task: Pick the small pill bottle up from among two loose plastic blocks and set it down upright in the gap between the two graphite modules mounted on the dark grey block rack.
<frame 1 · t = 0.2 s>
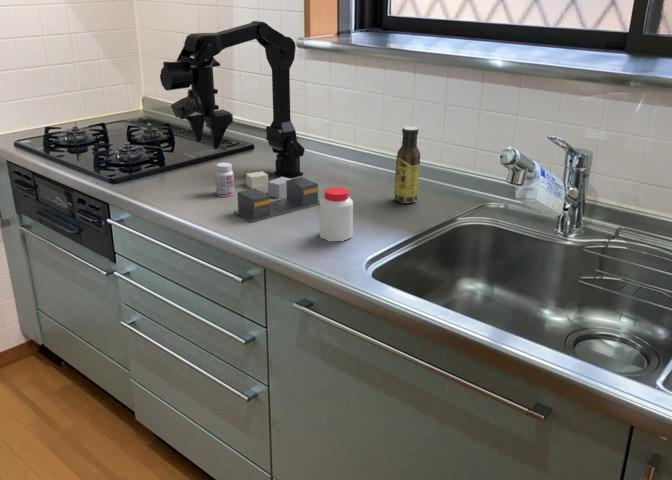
hand: (207, 145, 178), 14 cm above the worktop, fingers open, 9 cm apart
pill bottle 2: (336, 236, 157), on the worktop
dark grey block rack: (278, 208, 173), on the worktop
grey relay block: (280, 194, 184), on the worktop
sauce bottle: (405, 201, 180), on the worktop
beige terminal block: (257, 186, 190), on the worktop
pill bottle: (225, 195, 183), on the worktop
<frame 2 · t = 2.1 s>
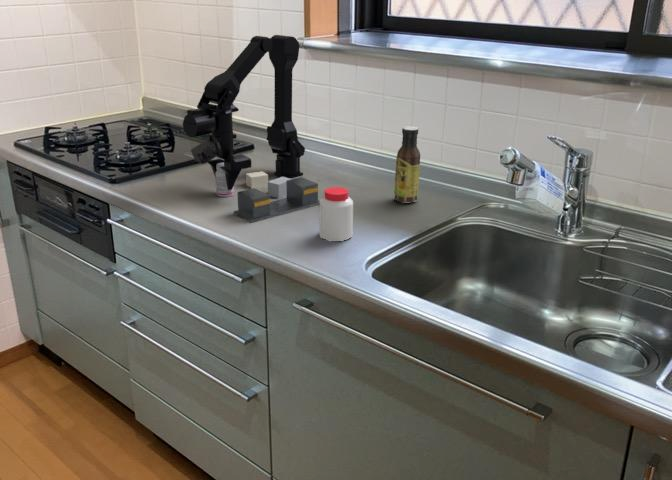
hand: (225, 187, 182), 2 cm above the worktop, fingers closed on pill bottle, 5 cm apart
pill bottle: (225, 195, 183), on the worktop, touching gripper
everything else where it was.
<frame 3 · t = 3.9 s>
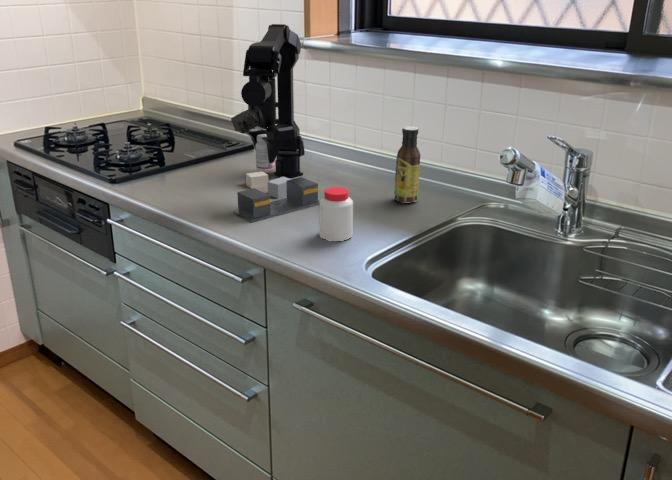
hand: (265, 160, 170), 12 cm above the worktop, fingers closed on pill bottle, 5 cm apart
pill bottle: (265, 169, 171), point 10 cm above the worktop, touching gripper
everything else where it was.
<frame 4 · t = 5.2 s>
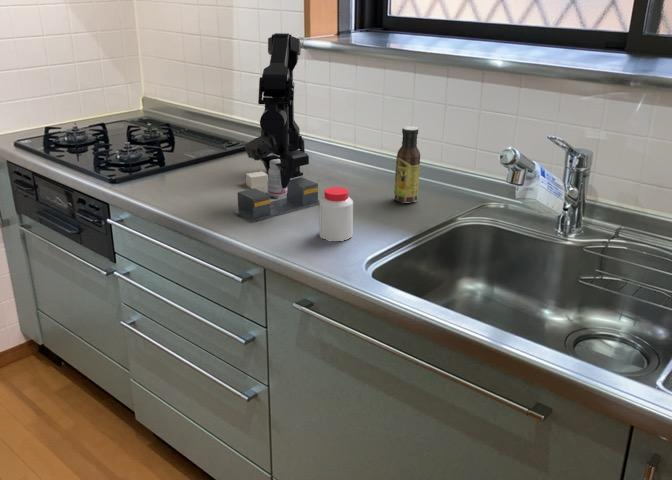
hand: (278, 185, 171), 6 cm above the worktop, fingers closed on pill bottle, 5 cm apart
pill bottle: (278, 193, 172), point 4 cm above the worktop, touching gripper
everything else where it was.
when the fingers open (4 cm above the worktop, at t = 6.0 s): pill bottle drops 1 cm, resting on dark grey block rack.
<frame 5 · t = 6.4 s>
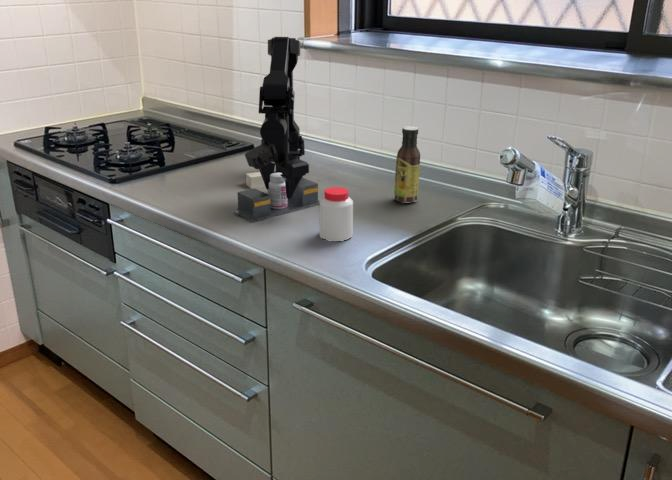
hand: (278, 193, 172), 4 cm above the worktop, fingers open, 9 cm apart
pill bottle: (278, 207, 173), resting on dark grey block rack
everything else where it was.
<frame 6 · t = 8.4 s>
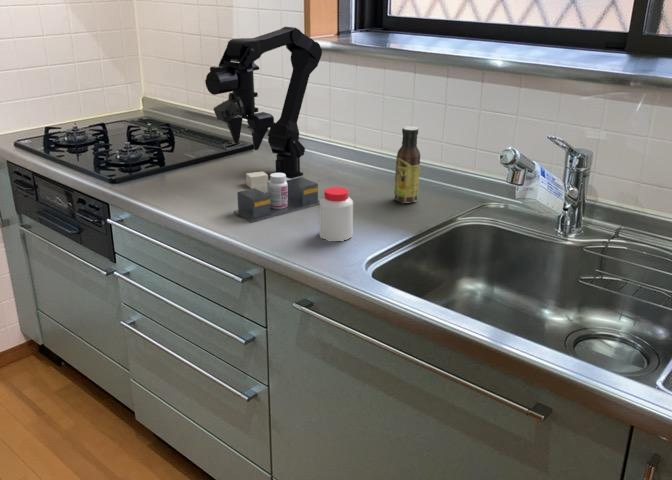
hand: (246, 146, 184), 12 cm above the worktop, fingers open, 9 cm apart
nothing on the worktop moved.
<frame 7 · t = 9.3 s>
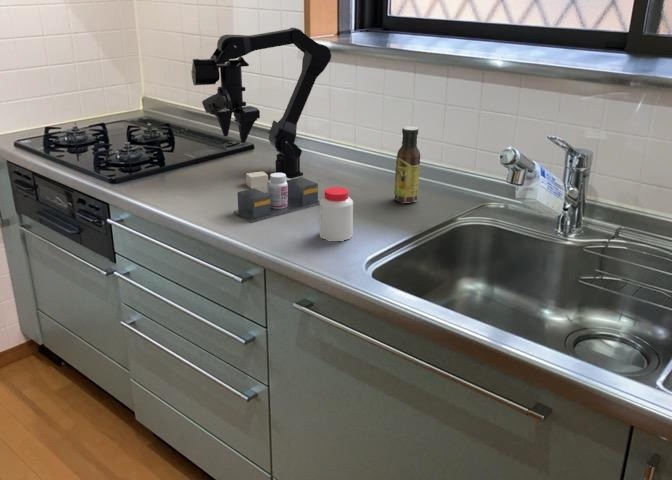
hand: (234, 139, 190), 12 cm above the worktop, fingers open, 9 cm apart
nothing on the worktop moved.
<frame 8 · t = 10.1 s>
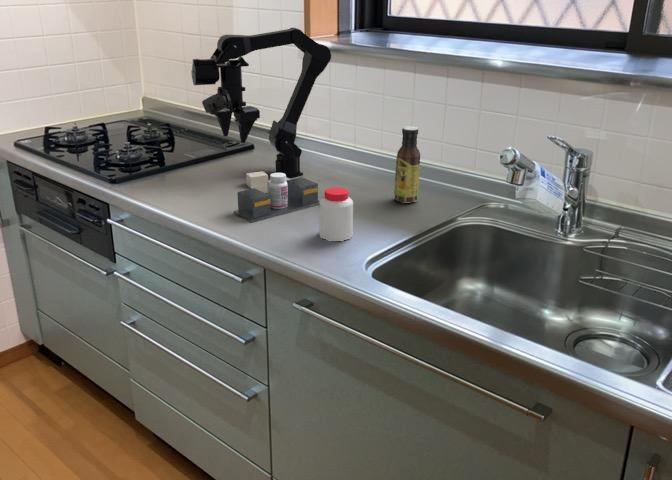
hand: (234, 139, 190), 12 cm above the worktop, fingers open, 9 cm apart
nothing on the worktop moved.
at the end: pill bottle 0.1 cm off-centre on the dark grey block rack, point 0.4 cm above the dark grey block rack's base; pill bottle tilted 0°; the gripper is holding nothing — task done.
